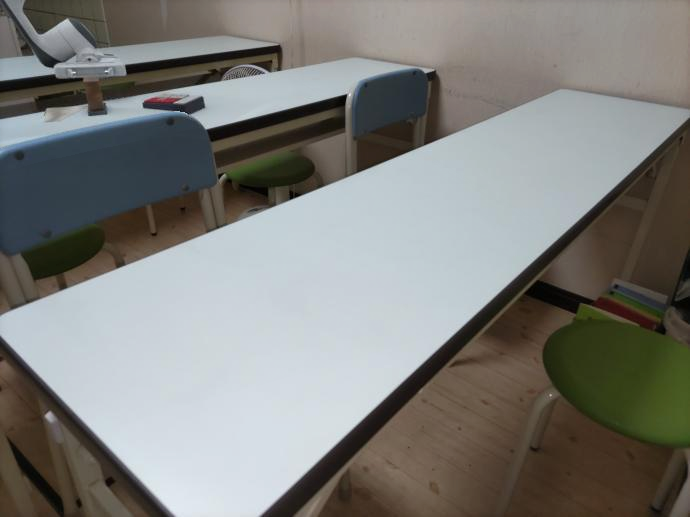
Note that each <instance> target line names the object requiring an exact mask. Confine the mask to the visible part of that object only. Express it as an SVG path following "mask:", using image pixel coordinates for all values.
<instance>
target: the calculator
mask: <svg viewBox="0 0 690 517" xmlns="http://www.w3.org/2000/svg"><path fill="white" fill-rule="evenodd" d="M142 108H143V109H148V110H158V111H167V112H173V111H180V112H185V113H187V114H190V115H193V114H194V113H197V112H199V111H201V110H203V109H206V104H205V97H204V96H203V95H199V94H198V95H195V94H194V95H193V94H191V95H190V94H187V93H186V94H185V93H182V94H181V93H177V94H176V93H161V94H159V95H156V96H153V97H150V98H147V99H145V100H143V102H142Z"/></svg>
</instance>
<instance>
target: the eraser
mask: <svg viewBox="0 0 690 517" xmlns="http://www.w3.org/2000/svg"><path fill="white" fill-rule="evenodd" d="M82 79H83V80H82V84H83V87H84V92H85V98H86V101H87V106H88V107H87V116H88V117H93V116H94V117H96V116H105V115H108V108H107V102H104V97H103V92H102V86H101V83H100V80H99V77H84V78H82Z"/></svg>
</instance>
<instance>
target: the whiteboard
mask: <svg viewBox="0 0 690 517" xmlns="http://www.w3.org/2000/svg"><path fill="white" fill-rule="evenodd" d="M86 109H88V105H75V106H61V107H60V106H59V107H58V106H57V107H46V108H45V110H44V114H43V121H42V123H44V124H45V123H55V122H62V121H64V120H66V119H67V118H69V117H71V116H73V115H75V114H77V113H79V112H82V111H84V110H86Z"/></svg>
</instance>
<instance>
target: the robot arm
mask: <svg viewBox="0 0 690 517" xmlns="http://www.w3.org/2000/svg"><path fill="white" fill-rule="evenodd" d="M25 2H26V0H0V4H1V6H2V8H3V9H4V11H5V13H6V14H7V15H8V17H9V18H10V19H11V21H12V23H13V24H14V25H15V27H16V29H17V30H18V31H19V33H20V34H21V36H22V37H23V39H24V40H25V41H26V42H27V44H28V45H29V47H30V49H31V50H32V53H33V54H34V57H35V58H36V60H37V61H38V62H39V63H40V64H41V65H43V66H44V67H45V68H49V69H53V71H54V75H55V78H56V79H58V80H59V79H60V80H61V79H62V80H65V79H83V78H84V77H99V81H101V80H104V79H107V78H115V77H125V76H127V69H126V65H125V62H124V61H123V59H121V58H120V57H119V55H118V54H112V53H103V52H102V51H101V50H100V48H98V41H97V39H96V37H95V36H94V34H93V33H92V31H91V30H90V29H89V28H88V27H87V26H86V25H85V24H84V23H83V22H82V21H80V20H78V19H76V18H72V17H68V18H66V19H64V20H63V21H61V22H59V23H58V24H57V25H55V26H54V27H52V28H51V29H49V30H48V31H46V32H44V33H43V34H40V33H38V32H37V31H36V29H35V28H34V26H33V25H32V23H31V22H30V20H29V19H28V17H27V16H26V15H25V13H24V4H25ZM74 57H76V59H75V61H69V60H71V59H73V58H74Z"/></svg>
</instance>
